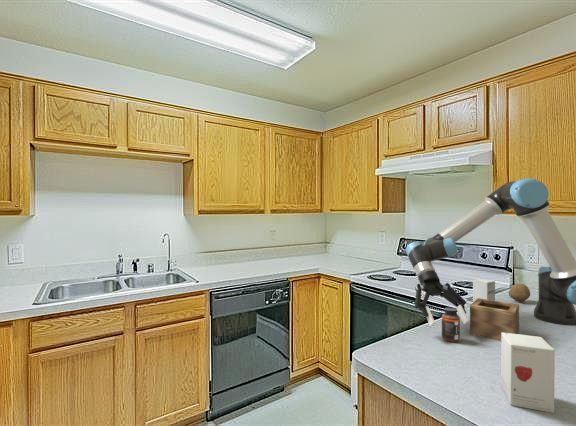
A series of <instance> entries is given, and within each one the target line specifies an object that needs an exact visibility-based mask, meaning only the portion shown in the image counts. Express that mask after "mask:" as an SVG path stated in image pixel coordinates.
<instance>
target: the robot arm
mask: <svg viewBox="0 0 576 426" xmlns="http://www.w3.org/2000/svg"><path fill="white" fill-rule="evenodd" d="M549 195H550V193H549V190H548V187H547V186H546V184H544V182H542V181H540V180H538V179H536V178H521V179H518V180H513V181H512V180H511V181H507V182H506V183H503V184H502V185H501V186H499V187H498V188H497V189H495V190H494V191H493V192H491V193H490V194H489V195H487V196H486V197H484V201H483V202H481V203H479V205H477V206H476V207H473V208H472V210H469V211H468V212H467V213H465V214H464V215H462V216H461V217H459V218H457V220H455V221H453V222H452V223H451V224H449V225H448V226H447V227H445V228H444V229H443V230H441V231H439V232H438V233H436V234H435V235H434V236H432V237H429V238H427V239H426V240H424V242H423V244H422V242H420V241H413V242H411V243H409V244H408V245H407V246H406V247H405V252H406V254H407V257H408V260H409V262H410V263H411V266H412V268H413V270H414V273H415V274H416V277H417V279H418V282H419V283H417V285H416V286H415V287H414V289H415V302H414V308H415V309H419V311H421V312H422V314H423V317H424V318H426V319H427V322H428V324H429V327H433V325H435V324H436V321H435V319H434V317H433V315H432V312H431V310H430V307H429V306H428V305H427V302H428V300H429V298H430V296H431V297H440V298H444V299H445V300H446V301H447V302H449V303H450V304H452V305H453V306H455V307H456V308H455V309H456V310H457V315H458V316H459V317H460V320H461V322H462V323H463V325H467V324H468V323H470V318H468V315H467V311H466V309H465V305H466V304H467V301H466V300H465V299H464V298H463V297H462V296H461V295H460V294H458V292H457V291H455V290H454V288H452V287H451V286H452V285H450V283H448V282H446V283H445V284H442V283H441V281H440V277H439V276H438V274H437V271H436V270H435V268H434V265H433V264H432V262H435V261H438V260H441V259H446V258H450V257H452V256H455V255H457V254H458V247H457V244H456V242H458V241H459V240H461V239H463V237H465V236H467V235H468V234H469V233H471V232H473V231H474V230H476V229H477V228H479V226H482V225H483V224H485V223H486V222H487V221H489V220H491V219H492V218H493V217H495V216H496V215H502V214H503V213H505V212H507V211H509V210H513V211H514V213H515V215H516V217H518V218H521V219H523V221H524V222H525V224H526V226H527V228H528V229H529V231H530V233H531V235H532V237H533V239H534V240H535V242H536V245H537V246H538V247H539V249H540V251H541V253H542V255H543V257H544V259H545V261H546V262H547V263H548V266H541V267H539V268H538V274H537V276H538V301H537V303H536V305H535V306H534V309H533V317H535V318H536V319H538V320H541V321H544V322H546V323H551V324H559V325H567V326H571V325H573V326H574V325H576V308H575V306H576V258H575V256H574V255H573V253H572V251H571V249H570V247H569V246H568V244H567V241H566V240H565V238H564V237H563V235H562V233H561V232H560V229H559V228H558V226H557V224H556V223H555V221H554V219H553V217H552V215H551V214H550V212H549V208H550V205H551V204H550V202H549V199H548V197H549ZM422 290H423V291H424V292H425V294H424V297H423V299H422V293H423V292H422ZM421 301H422V302H421ZM426 305H427V306H426Z"/></svg>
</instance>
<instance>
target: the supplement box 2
mask: <svg viewBox="0 0 576 426" xmlns="http://www.w3.org/2000/svg"><path fill="white" fill-rule="evenodd" d="M500 342H501V344H500V345H501V347H500V349H501V350H500V351H501V352H500V356H501V359H500V360H501V361H500V389H502V392H503V394H504V396H505V398H506V399H507V401H508V403H509V405H510V406H514V407H519V408H524V409H530V410H536V411H540V412H545V413H546V412H547V413H550V414H554V413H555V370H556V369H555V363H556V362H555V359H556V358H555V352H556V351H555V349H554V347H552V345H550V344H549V343H548V342H547V341H546V339H545V340H544V338H543V337H541V336H535V335H527V334H520V333H519V334H511V333H503V332H502V333H501V341H500Z"/></svg>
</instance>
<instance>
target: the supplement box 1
mask: <svg viewBox="0 0 576 426" xmlns="http://www.w3.org/2000/svg"><path fill="white" fill-rule="evenodd" d="M478 298H480V299H486V300H493V301H496V281H495V280H491V279H484V278H478V279H473V280H472V303H473V302H474V301H475V300H477V299H478Z"/></svg>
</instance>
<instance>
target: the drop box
mask: <svg viewBox="0 0 576 426" xmlns="http://www.w3.org/2000/svg"><path fill="white" fill-rule="evenodd" d="M502 332H503V333H511V334H520V303H513V302H512V303H511V302H505V301H499V300H498V301H497V300H495V301H493V300H486V299H480V298H478V299H477V300H475V301H474V302H473V301H472V303H471V304H470V305H469V335H473V336H477V337H484V338H486V339H491V340H496V341H500V342H501V333H502Z"/></svg>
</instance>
